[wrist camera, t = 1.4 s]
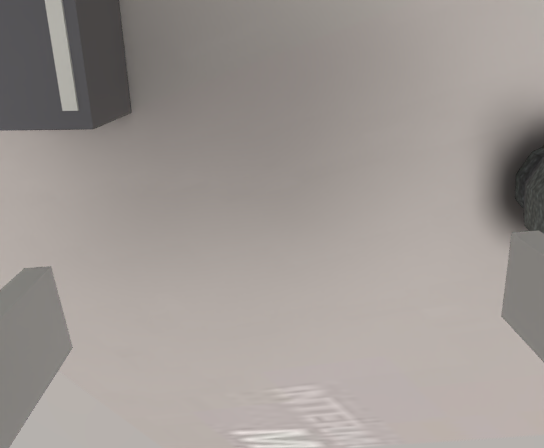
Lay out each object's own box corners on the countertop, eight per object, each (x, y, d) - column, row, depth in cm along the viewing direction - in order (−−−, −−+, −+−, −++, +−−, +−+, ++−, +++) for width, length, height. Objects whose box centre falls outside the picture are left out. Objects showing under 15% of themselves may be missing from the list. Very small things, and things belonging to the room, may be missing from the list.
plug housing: (10, -88, 28) (-85, -143, 20) (109, -88, 28) (53, -143, 20) (45, 113, 32) (-22, 131, 24) (131, 112, 32) (92, 129, 24)
